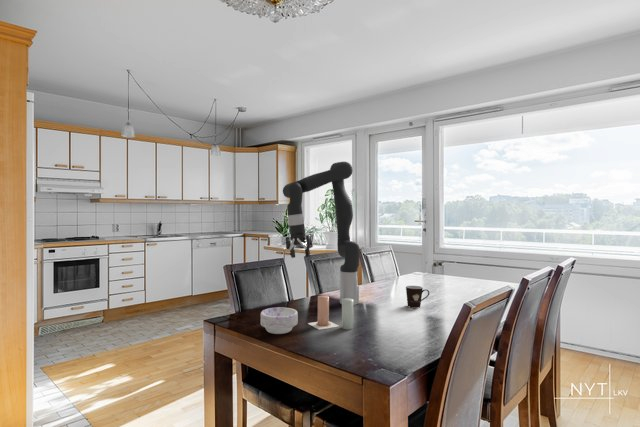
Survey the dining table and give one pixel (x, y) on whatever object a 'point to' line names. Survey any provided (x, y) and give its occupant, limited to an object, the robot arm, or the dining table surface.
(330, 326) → the card
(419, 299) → the coffee mug
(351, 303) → the grey-green tube
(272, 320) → the paper bowls
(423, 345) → the dining table surface
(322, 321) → the terracotta tube
